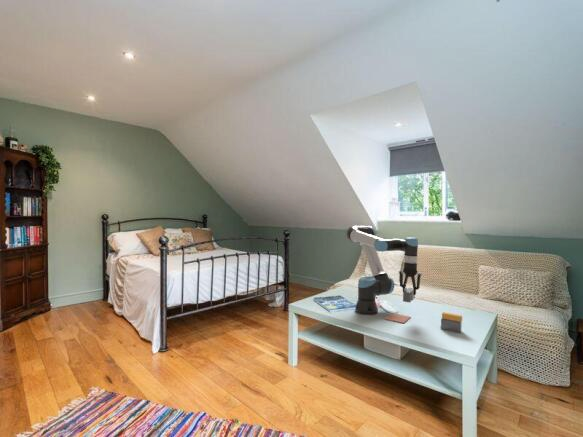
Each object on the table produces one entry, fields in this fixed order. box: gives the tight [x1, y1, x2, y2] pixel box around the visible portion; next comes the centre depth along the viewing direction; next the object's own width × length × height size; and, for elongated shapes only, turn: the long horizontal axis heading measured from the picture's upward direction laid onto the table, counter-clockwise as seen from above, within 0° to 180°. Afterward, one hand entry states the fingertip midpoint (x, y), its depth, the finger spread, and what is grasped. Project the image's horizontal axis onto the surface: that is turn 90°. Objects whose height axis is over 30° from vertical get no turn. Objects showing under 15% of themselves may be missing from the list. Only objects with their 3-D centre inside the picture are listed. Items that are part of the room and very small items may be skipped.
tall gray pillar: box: [402, 287, 416, 303], centre depth 194 cm, size 4×12×6 cm, turn 144°
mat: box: [384, 312, 412, 324], centre depth 198 cm, size 12×14×1 cm
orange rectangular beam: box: [441, 311, 463, 323], centre depth 178 cm, size 10×3×3 cm, turn 52°
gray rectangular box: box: [440, 317, 463, 334], centre depth 178 cm, size 10×4×6 cm, turn 52°
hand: (408, 298), depth 194 cm, fingers closed on tall gray pillar, 4 cm apart
